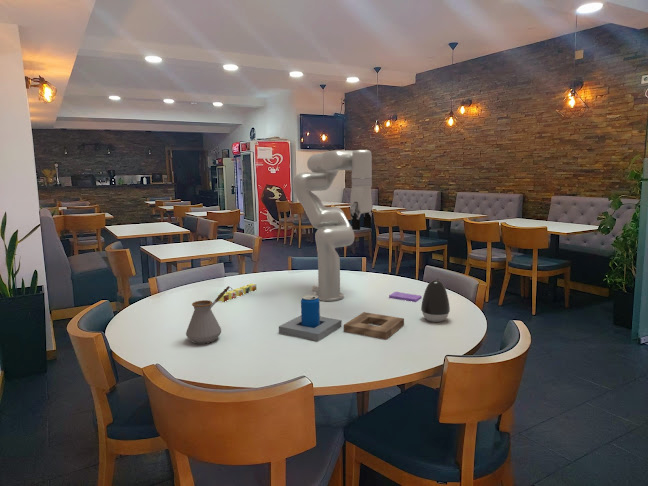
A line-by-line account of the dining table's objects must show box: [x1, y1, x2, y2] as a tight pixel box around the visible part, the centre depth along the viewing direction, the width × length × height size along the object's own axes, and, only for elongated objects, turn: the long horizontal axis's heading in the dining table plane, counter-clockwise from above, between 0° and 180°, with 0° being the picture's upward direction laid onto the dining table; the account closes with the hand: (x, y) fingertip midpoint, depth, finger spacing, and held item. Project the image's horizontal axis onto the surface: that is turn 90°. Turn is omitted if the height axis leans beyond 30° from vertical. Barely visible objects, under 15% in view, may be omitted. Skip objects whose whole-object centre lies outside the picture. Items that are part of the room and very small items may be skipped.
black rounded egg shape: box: [420, 278, 451, 323], centre depth 167 cm, size 10×10×15 cm
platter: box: [217, 283, 258, 303], centre depth 206 cm, size 32×32×3 cm
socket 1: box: [278, 315, 343, 342], centre depth 159 cm, size 16×16×2 cm
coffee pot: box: [185, 285, 233, 345], centre depth 155 cm, size 21×12×15 cm, turn 155°
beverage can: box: [300, 294, 321, 328], centre depth 159 cm, size 6×6×12 cm
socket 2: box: [343, 311, 405, 340], centre depth 160 cm, size 16×16×2 cm
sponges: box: [388, 291, 423, 303], centre depth 197 cm, size 7×13×2 cm, turn 56°
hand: (361, 228), depth 173 cm, fingers open, 9 cm apart
